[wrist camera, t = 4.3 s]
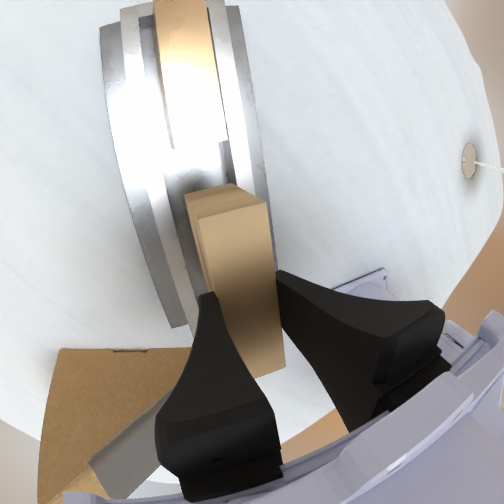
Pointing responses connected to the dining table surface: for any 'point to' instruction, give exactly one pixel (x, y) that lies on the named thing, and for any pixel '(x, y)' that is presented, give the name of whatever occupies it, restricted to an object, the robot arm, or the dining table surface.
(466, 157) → the wineglass
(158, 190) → the track
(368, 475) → the robot arm
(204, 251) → the tan rectangular block
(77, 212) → the dining table surface
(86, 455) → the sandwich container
